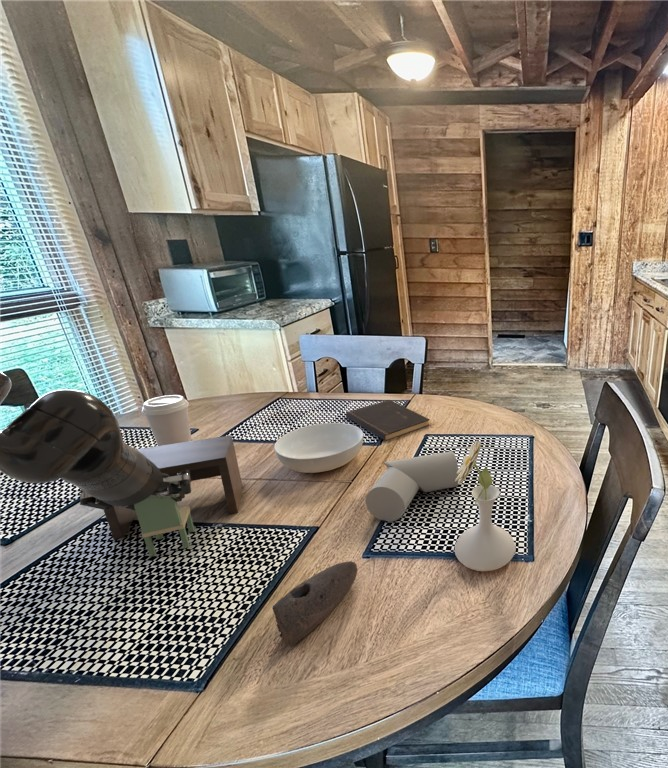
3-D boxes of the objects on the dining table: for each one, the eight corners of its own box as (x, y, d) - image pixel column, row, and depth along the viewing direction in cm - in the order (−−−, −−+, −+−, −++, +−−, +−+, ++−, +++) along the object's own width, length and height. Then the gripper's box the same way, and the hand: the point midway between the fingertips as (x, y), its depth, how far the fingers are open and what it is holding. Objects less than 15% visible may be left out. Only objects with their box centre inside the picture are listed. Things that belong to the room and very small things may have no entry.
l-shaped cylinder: (395, 465, 106) (357, 513, 87) (401, 429, 102) (363, 471, 83) (461, 485, 105) (437, 538, 86) (470, 449, 101) (447, 496, 83)
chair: (189, 549, 77) (171, 484, 73) (148, 559, 75) (127, 493, 70) (195, 529, 83) (179, 467, 78) (157, 538, 80) (138, 474, 75)
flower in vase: (471, 528, 85) (471, 417, 77) (523, 543, 82) (529, 428, 73) (438, 572, 74) (434, 447, 66) (497, 592, 70) (500, 462, 62)
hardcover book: (390, 405, 146) (389, 399, 145) (430, 425, 131) (429, 419, 131) (346, 418, 135) (345, 412, 134) (385, 442, 120) (384, 434, 119)
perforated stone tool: (347, 575, 73) (343, 542, 70) (369, 587, 70) (366, 554, 68) (265, 644, 60) (257, 607, 58) (288, 661, 58) (281, 623, 56)
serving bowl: (382, 453, 114) (380, 431, 111) (319, 493, 95) (315, 466, 93) (326, 437, 122) (323, 416, 119) (259, 471, 104) (254, 446, 101)
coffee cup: (145, 457, 108) (129, 404, 103) (182, 441, 116) (169, 391, 112) (172, 464, 105) (157, 409, 100) (208, 447, 114) (196, 396, 109)
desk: (238, 513, 88) (225, 457, 83) (114, 541, 79) (92, 479, 74) (242, 487, 97) (231, 434, 92) (132, 509, 88) (114, 452, 84)
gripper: (47, 512, 56) (105, 532, 70) (179, 487, 63) (208, 510, 77) (53, 460, 59) (107, 489, 73) (178, 441, 65) (206, 471, 79)
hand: (158, 500), depth 75 cm, fingers closed on chair, 5 cm apart
